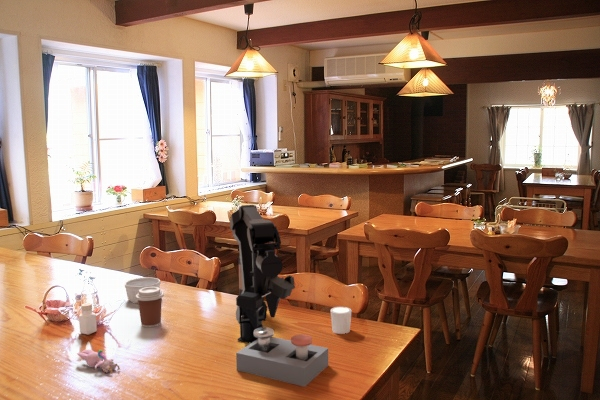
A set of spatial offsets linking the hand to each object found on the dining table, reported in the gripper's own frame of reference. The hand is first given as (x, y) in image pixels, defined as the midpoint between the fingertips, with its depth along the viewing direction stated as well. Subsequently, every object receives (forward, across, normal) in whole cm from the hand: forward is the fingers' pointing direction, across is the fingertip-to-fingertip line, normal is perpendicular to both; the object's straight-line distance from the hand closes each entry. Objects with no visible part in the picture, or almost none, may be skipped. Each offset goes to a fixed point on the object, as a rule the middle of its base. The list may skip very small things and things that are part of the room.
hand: (264, 322), depth 152 cm
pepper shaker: (+12, -6, +64) cm, 66 cm away
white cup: (+12, +32, -9) cm, 35 cm away
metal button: (+8, 0, 0) cm, 8 cm away
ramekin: (+12, +29, +73) cm, 79 cm away
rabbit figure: (+12, -23, +41) cm, 48 cm away
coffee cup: (+12, +9, +51) cm, 53 cm away
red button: (+8, 0, -12) cm, 14 cm away
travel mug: (+12, +35, +28) cm, 47 cm away
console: (+12, 0, -6) cm, 13 cm away
